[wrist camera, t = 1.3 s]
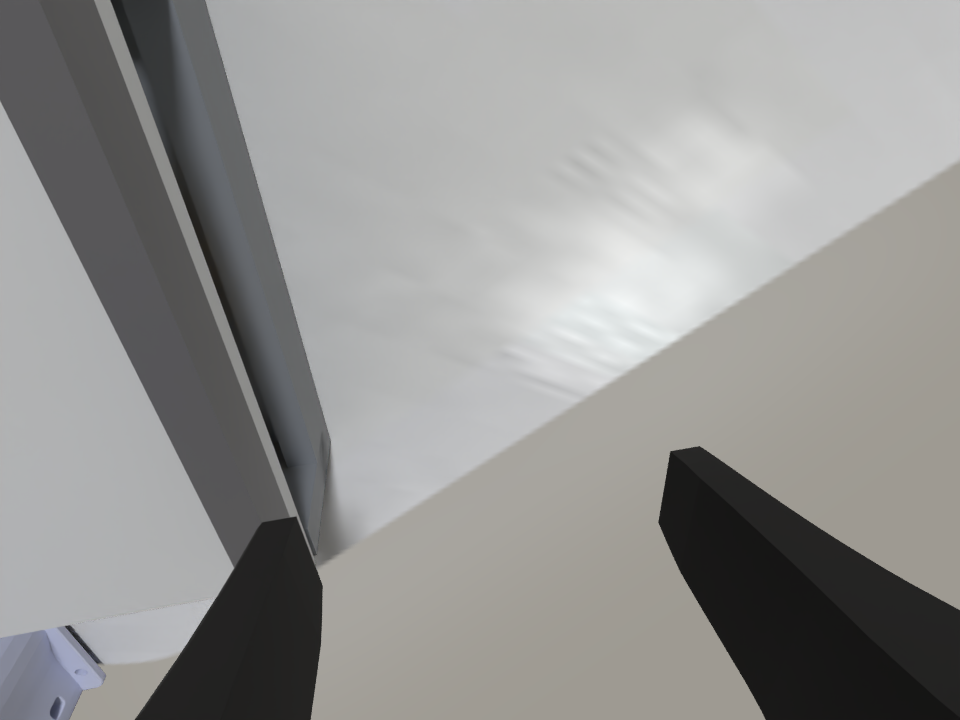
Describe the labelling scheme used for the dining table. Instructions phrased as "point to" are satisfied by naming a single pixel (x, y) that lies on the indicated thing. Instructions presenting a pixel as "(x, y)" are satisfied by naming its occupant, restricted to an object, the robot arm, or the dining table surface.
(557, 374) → the dining table surface
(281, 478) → the lid
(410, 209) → the dining table surface
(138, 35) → the case
